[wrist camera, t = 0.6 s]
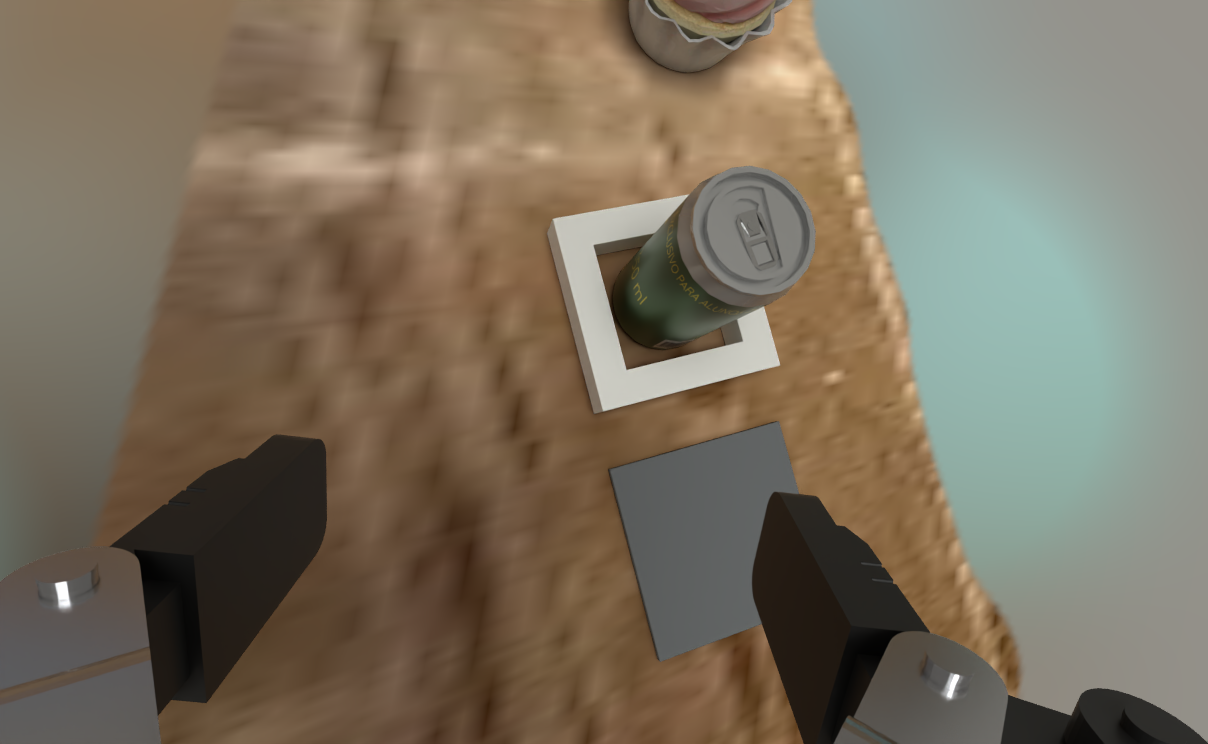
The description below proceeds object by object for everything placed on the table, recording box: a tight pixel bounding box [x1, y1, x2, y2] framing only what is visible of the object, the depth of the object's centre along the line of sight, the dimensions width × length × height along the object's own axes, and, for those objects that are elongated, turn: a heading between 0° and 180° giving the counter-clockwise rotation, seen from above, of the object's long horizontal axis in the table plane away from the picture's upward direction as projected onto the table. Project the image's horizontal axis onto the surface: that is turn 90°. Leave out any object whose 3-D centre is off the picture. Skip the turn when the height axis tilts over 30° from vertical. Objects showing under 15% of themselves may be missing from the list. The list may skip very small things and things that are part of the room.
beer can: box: [613, 166, 816, 350], centre depth 29 cm, size 5×5×12 cm
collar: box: [547, 195, 780, 414], centre depth 34 cm, size 10×10×2 cm
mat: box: [608, 421, 799, 662], centre depth 34 cm, size 10×10×1 cm
